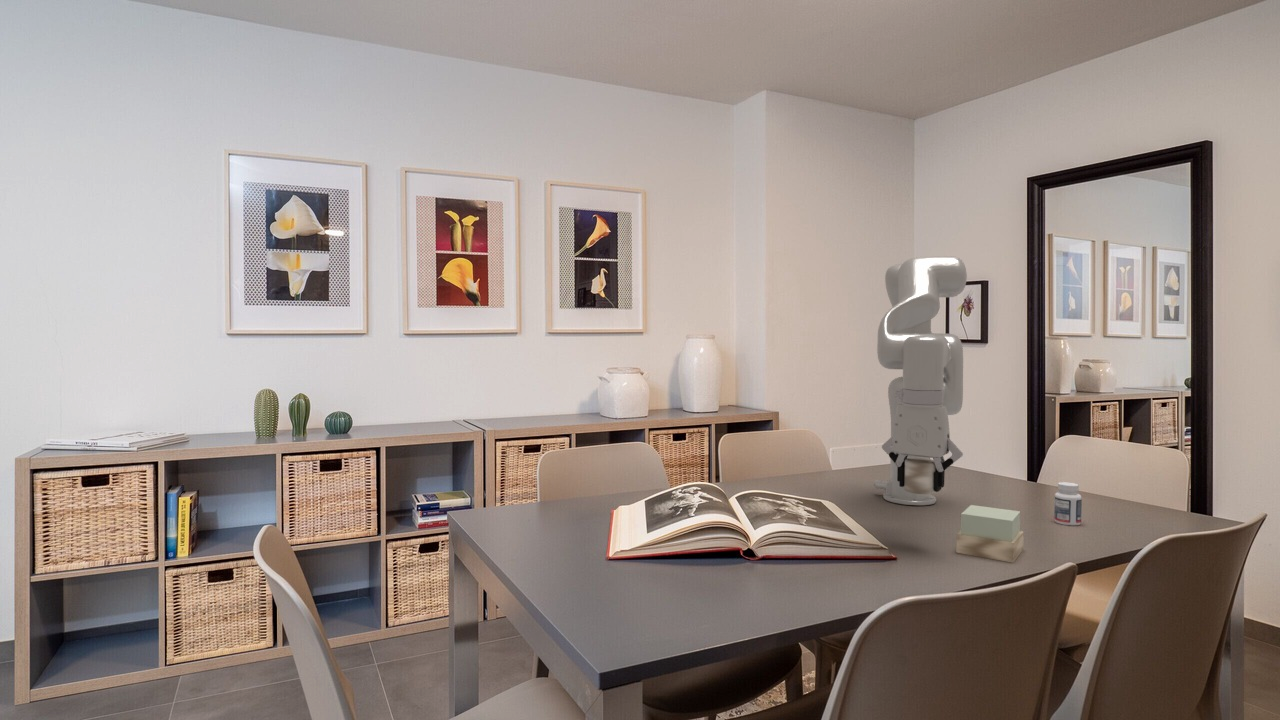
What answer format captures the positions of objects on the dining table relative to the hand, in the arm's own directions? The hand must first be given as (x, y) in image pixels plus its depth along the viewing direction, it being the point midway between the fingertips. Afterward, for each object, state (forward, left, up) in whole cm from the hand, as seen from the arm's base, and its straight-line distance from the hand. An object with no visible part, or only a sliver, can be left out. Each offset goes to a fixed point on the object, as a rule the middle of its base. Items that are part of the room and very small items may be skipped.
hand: (920, 487), depth 146 cm
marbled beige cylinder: (0, 0, -1) cm, 1 cm away
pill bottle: (+21, +39, -12) cm, 46 cm away
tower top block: (+12, +5, -8) cm, 15 cm away
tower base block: (+12, +5, -12) cm, 18 cm away
